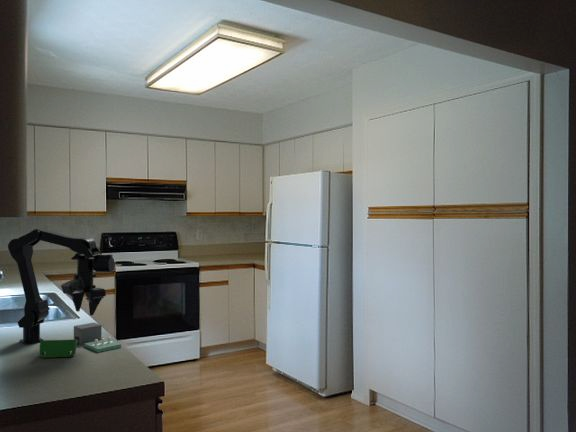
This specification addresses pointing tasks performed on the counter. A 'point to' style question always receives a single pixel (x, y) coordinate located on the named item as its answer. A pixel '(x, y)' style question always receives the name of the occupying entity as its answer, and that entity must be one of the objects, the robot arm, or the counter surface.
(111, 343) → the pin board
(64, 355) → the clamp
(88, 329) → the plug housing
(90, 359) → the counter surface
